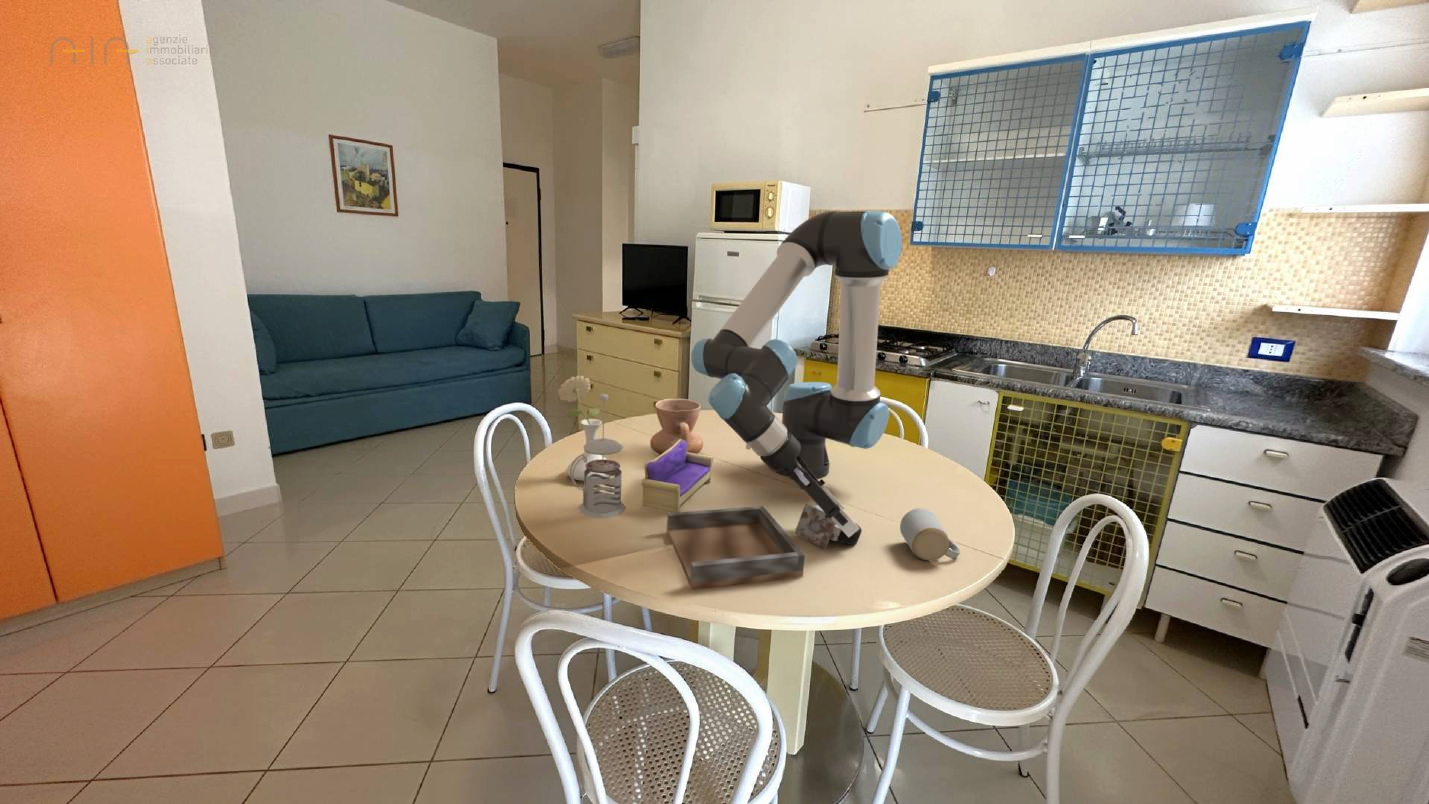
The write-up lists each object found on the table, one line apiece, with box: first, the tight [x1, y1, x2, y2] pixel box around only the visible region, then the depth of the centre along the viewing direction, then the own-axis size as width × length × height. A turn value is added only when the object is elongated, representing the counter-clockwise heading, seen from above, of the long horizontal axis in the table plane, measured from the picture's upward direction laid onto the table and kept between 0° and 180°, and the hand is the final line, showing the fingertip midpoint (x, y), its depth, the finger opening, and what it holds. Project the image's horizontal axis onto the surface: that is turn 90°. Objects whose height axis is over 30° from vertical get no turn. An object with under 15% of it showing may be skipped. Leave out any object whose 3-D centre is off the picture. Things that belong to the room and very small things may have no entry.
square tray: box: [666, 505, 806, 590], centre depth 106 cm, size 20×20×4 cm
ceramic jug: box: [649, 398, 704, 456], centre depth 155 cm, size 18×14×14 cm
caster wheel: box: [794, 503, 863, 549], centre depth 114 cm, size 7×11×10 cm
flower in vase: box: [557, 375, 611, 482], centre depth 134 cm, size 13×11×25 cm
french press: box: [569, 393, 627, 519], centre depth 118 cm, size 10×12×25 cm
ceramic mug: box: [899, 507, 961, 561], centre depth 110 cm, size 11×8×8 cm
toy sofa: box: [641, 439, 714, 513], centre depth 130 cm, size 21×9×10 cm, turn 159°
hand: (845, 521), depth 114 cm, fingers closed on caster wheel, 8 cm apart
